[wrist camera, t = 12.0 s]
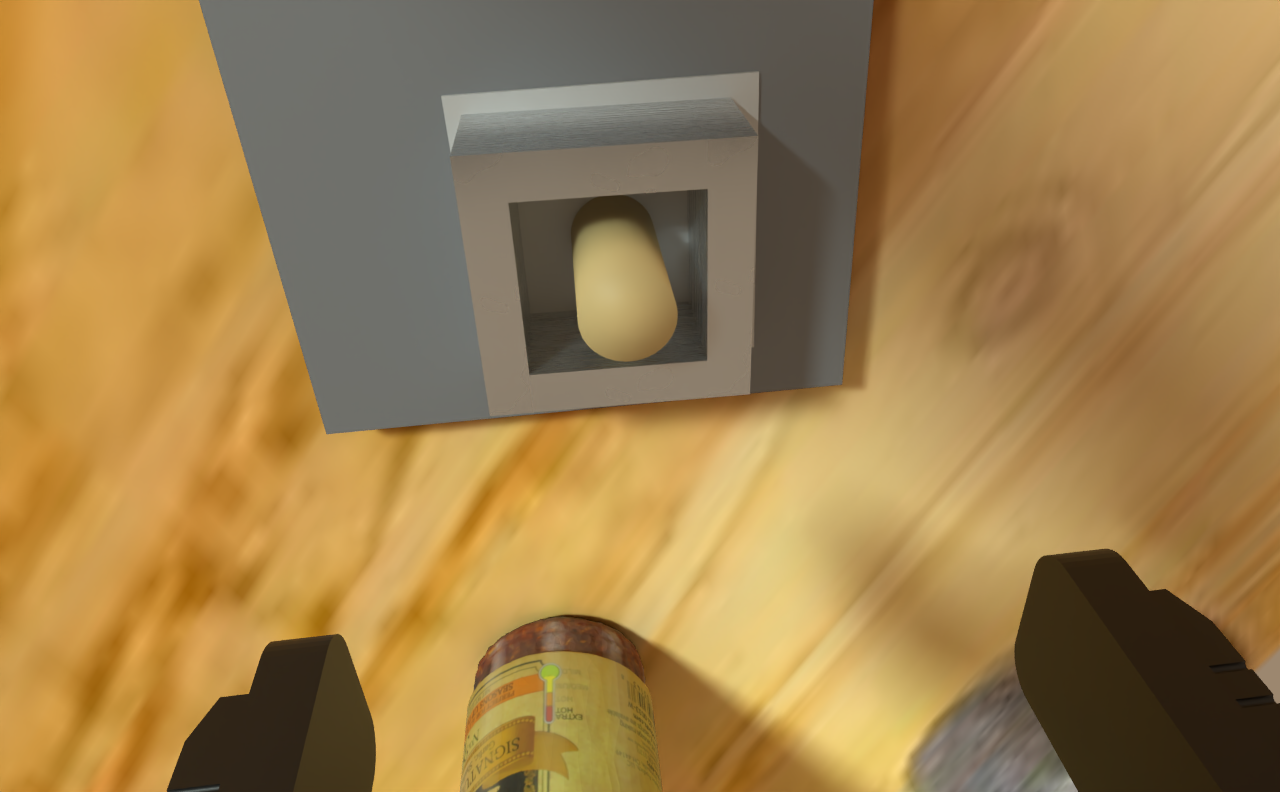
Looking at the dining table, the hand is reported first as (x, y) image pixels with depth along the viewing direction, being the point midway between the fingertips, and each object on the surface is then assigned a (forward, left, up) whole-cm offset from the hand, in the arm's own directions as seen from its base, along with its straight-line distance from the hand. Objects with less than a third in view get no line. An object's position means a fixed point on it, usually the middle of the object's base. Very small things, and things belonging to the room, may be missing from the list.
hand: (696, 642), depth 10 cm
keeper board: (-3, -1, -15) cm, 15 cm away
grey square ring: (0, 0, -13) cm, 13 cm away
